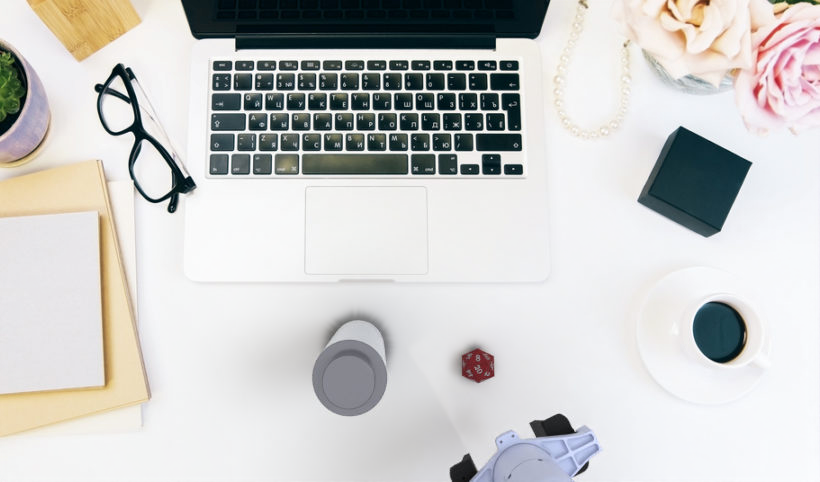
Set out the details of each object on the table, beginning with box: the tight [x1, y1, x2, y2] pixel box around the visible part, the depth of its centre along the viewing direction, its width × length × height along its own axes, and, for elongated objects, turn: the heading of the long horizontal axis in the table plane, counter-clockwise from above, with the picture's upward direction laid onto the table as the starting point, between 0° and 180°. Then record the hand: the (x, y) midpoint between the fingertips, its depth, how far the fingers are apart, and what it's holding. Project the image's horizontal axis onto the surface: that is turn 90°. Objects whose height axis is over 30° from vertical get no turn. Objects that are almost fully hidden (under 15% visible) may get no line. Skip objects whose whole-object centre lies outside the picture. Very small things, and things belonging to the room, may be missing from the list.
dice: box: [461, 347, 495, 384], centre depth 70 cm, size 4×4×4 cm
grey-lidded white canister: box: [311, 319, 388, 417], centre depth 60 cm, size 6×6×24 cm
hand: (503, 446), depth 62 cm, fingers open, 7 cm apart
